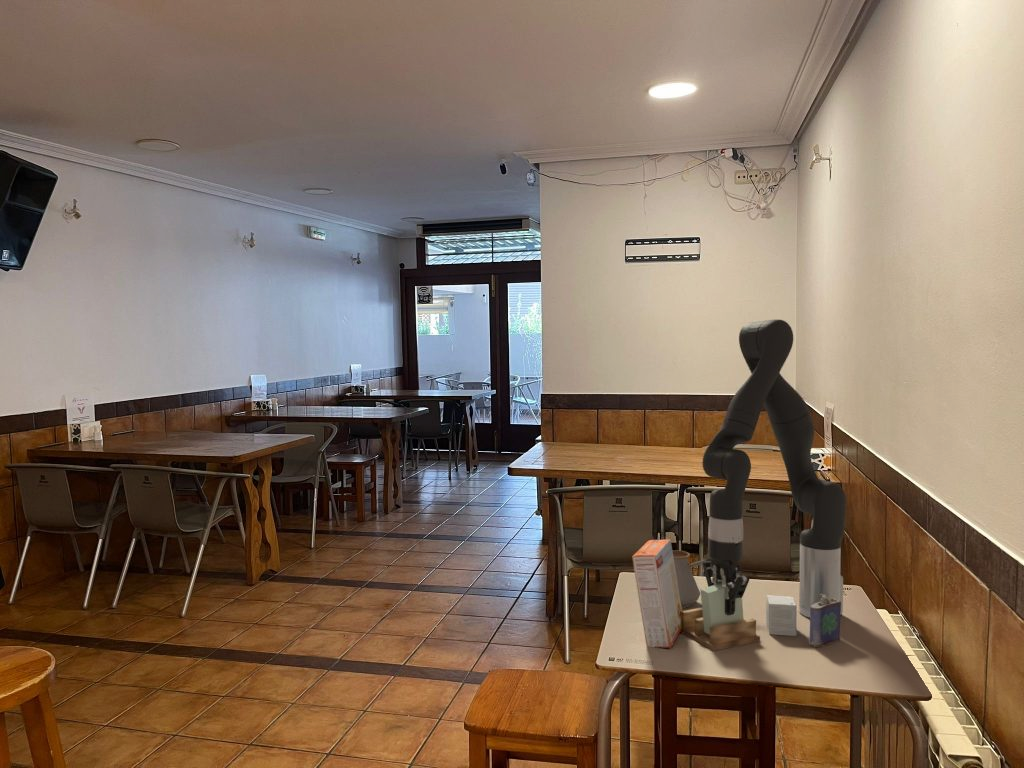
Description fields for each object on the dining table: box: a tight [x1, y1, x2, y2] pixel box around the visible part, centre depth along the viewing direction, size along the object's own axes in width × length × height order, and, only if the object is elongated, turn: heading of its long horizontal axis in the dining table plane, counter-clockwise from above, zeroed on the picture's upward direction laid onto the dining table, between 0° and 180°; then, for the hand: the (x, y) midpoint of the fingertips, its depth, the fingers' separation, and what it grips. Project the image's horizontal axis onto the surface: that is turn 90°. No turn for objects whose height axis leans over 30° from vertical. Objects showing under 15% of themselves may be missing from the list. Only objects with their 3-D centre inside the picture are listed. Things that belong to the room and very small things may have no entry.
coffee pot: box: [672, 549, 711, 609], centre depth 186 cm, size 21×12×15 cm, turn 75°
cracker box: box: [631, 539, 683, 649], centre depth 166 cm, size 14×6×21 cm, turn 154°
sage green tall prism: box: [699, 582, 745, 635], centre depth 163 cm, size 3×9×10 cm, turn 113°
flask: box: [809, 594, 841, 649], centre depth 162 cm, size 9×3×11 cm, turn 121°
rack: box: [680, 606, 761, 651], centre depth 166 cm, size 13×13×4 cm
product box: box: [765, 594, 798, 637], centre depth 168 cm, size 6×6×7 cm
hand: (724, 611), depth 164 cm, fingers closed on sage green tall prism, 2 cm apart
